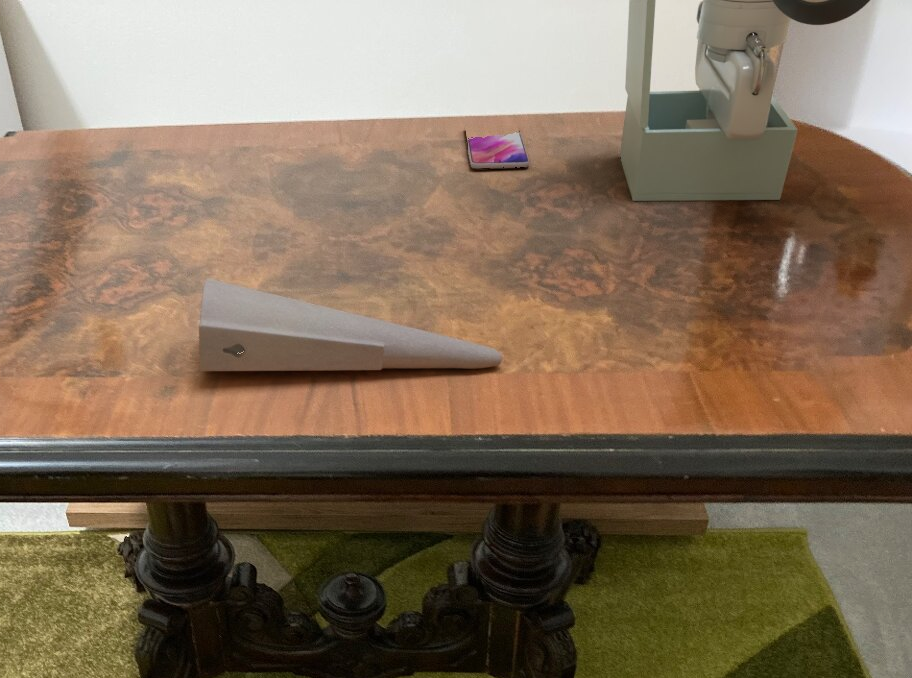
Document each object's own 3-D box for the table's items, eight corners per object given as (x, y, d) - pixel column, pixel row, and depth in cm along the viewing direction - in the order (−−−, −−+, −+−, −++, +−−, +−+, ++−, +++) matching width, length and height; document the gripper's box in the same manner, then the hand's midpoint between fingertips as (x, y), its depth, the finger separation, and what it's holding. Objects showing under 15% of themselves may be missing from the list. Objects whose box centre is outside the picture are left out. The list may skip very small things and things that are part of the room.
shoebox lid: (640, -68, 99) (592, -61, 100) (658, -42, 89) (605, -34, 90) (632, 87, 109) (589, 92, 110) (647, 127, 99) (600, 132, 100)
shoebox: (752, 154, 112) (767, 88, 107) (780, 200, 101) (798, 129, 96) (619, 156, 114) (628, 92, 109) (632, 201, 104) (643, 132, 99)
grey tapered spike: (496, 277, 83) (209, 262, 82) (511, 325, 76) (197, 308, 75) (482, 351, 87) (210, 337, 87) (495, 402, 80) (200, 387, 80)
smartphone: (517, 120, 124) (530, 162, 112) (517, 127, 125) (529, 169, 113) (463, 122, 125) (470, 163, 113) (463, 128, 125) (470, 170, 113)
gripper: (802, 48, 88) (768, 186, 97) (754, -2, 104) (728, 120, 113) (732, 51, 89) (705, 187, 98) (695, 0, 105) (674, 121, 114)
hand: (717, 151), depth 106 cm, fingers closed on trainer, 4 cm apart
